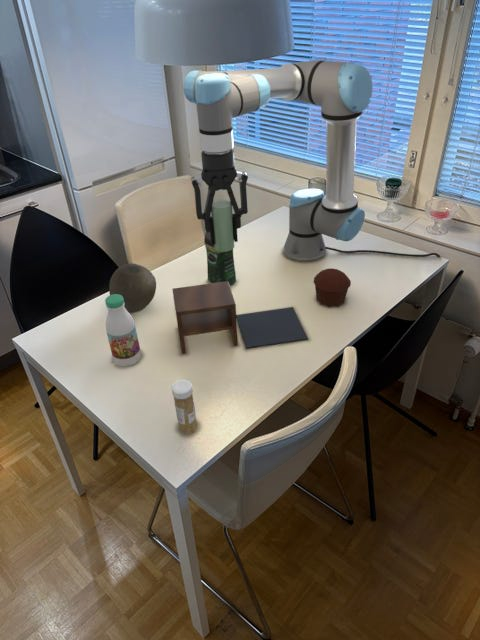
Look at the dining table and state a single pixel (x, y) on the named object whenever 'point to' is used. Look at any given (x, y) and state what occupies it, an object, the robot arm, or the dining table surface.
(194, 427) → the sprinkles bottle
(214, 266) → the coffee jar
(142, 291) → the dimpled grey orange
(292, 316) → the felt mat
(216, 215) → the canister
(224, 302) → the wooden side table
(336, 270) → the muffin
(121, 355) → the milk bottle
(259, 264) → the dining table surface
